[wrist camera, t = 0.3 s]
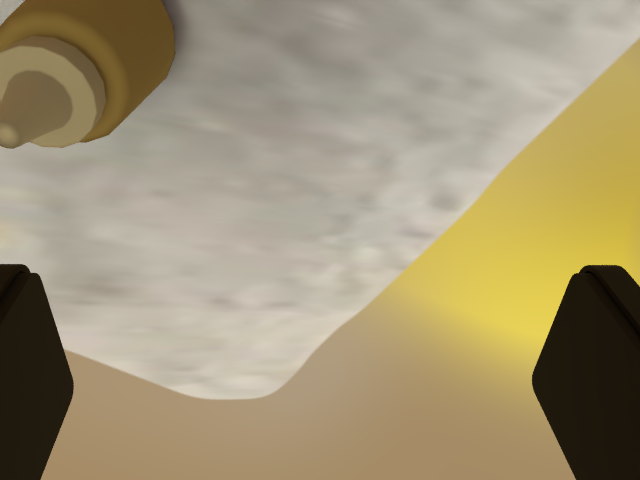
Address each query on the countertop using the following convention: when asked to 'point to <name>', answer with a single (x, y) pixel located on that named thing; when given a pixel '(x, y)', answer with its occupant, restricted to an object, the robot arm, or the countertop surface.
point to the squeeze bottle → (79, 67)
